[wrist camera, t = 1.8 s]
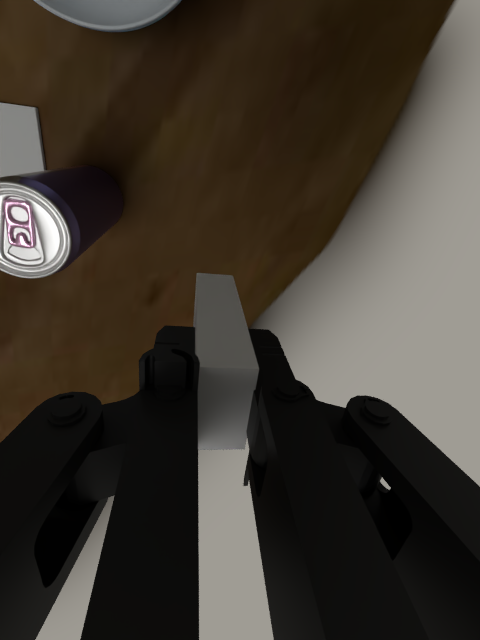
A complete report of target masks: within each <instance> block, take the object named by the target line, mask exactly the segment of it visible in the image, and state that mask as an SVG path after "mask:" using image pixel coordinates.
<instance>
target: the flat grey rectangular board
mask: <svg viewBox="0 0 480 640" xmlns="http://www.w3.org/2000/svg"><path fill="white" fill-rule="evenodd" d="M39 171H46V165H45V158H44V151H43V144H42V136H41V129H40V122H39V115H38V108H34V107H28V106H21V105H14V104H7V103H0V177H5V176H11V175H18V174H25V173H32V172H39Z"/></svg>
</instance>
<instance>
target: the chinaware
mask: <svg viewBox="0 0 480 640" xmlns="http://www.w3.org/2000/svg"><path fill="white" fill-rule="evenodd" d="M34 1H35V2H36V3H38V4H39V5H40V6H42V7H43V8H45V9H46V10H48V11H50V12H51V13H53V14H55V15H57V16H59V17H60V18H62V19H64V20H67V21H69V22H71V23H74V24H76V25H79V26H82V27H85V28H89V29H93V30H98V31H104V32H127V31H133V30H137V29H141V28H144V27H147V26H149V25H151V24H153V23H155V22H157V21H159V20H160V19H162V18H163V17H165V16H166V15H167V14H168V13H170V12H171V11H172V10H173V9H174V8H175V7H176V6H177V5H178V4H179V3H180V2H181V1H182V0H34Z"/></svg>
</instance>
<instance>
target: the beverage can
mask: <svg viewBox="0 0 480 640" xmlns="http://www.w3.org/2000/svg"><path fill="white" fill-rule="evenodd" d="M122 211H123V197H122V194H121V191H120V189H119V187H118V185H117V183H116V182H115V181H114V180H113V178H112V177H111V176H109V175H108V174H107V173H106V172H104V171H103V170H101V169H99V168H96V167H93V166H88V165H80V166H73V167H66V168H59V169H53V170H46V171H39V172H32V173H25V174H18V175H11V176H5V177H0V270H1V271H3V272H5V273H8V274H10V275H13V276H17V277H21V278H42V277H46V276H49V275H51V274H54V273H57V272H60V271H62V270H63V269H65V268H66V267H68V266H69V265H70V264H71V263H72V262H73V261H74V260H76V259H77V258H78V257H79V256H80V255H81V254H82V253H83V252H84V251H86V250H87V249H88V248H89V247H90V246H91V245H92V244H93V243H94V242H95V241H97V240H98V239H99V238H100V237H101V236H102V235H103V234H104V233H105V232H107V231H108V230H109V229H110V228H111V227H112V226H113V225H114V224H115V223H116V222H117V221H118V220H119V218H120V216H121V214H122Z"/></svg>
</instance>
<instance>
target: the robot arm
mask: <svg viewBox="0 0 480 640" xmlns="http://www.w3.org/2000/svg"><path fill="white" fill-rule="evenodd" d="M139 386H140V391H139V392H138V393H136V394H135V395H134V396H131V397H129V398H127V399H125V400H121V401H118V402H113V403H108V404H104V405H101V401H100V400H99V399H98V398H97V397H96V396H94V395H91V394H88V393H86V392H69V393H64V394H59V395H57V396H54V397H52V398H49V399H47V400H46V401H44V402H43V403H42V404H40V405H39V406H37V407H36V408H35V409H34V410H33V411H32V412H31V413H30V414H29V415H28V416H27V417H26V418H25V419H24V420H23V421H22V422H21V423H20V424H19V425H18V426H17V427H16V428H15V429H14V430H13V431H12V432H11V433H10V434H9V435H8V436H7V437H6V438H5V439H4V440H3V441H2V442H1V443H0V640H35V639H36V637H37V635H38V633H39V631H40V629H41V628H42V626H43V624H44V622H45V620H46V618H47V616H48V614H49V612H50V610H51V608H52V606H53V604H54V603H55V601H56V599H57V597H58V595H59V593H60V591H61V589H62V587H63V585H64V583H65V581H66V580H67V578H68V576H69V574H70V572H71V570H72V568H73V566H74V564H75V562H76V560H77V558H78V556H79V554H80V552H81V551H82V549H83V547H84V545H85V543H86V541H87V539H88V537H89V535H90V533H91V531H92V529H93V528H94V525H95V524H96V522H97V520H98V518H99V516H100V514H101V512H102V510H103V508H104V506H105V504H106V502H107V500H108V497H111V496H114V495H115V496H114V501H113V505H112V510H111V513H110V517H109V522H108V526H107V530H106V534H105V539H104V543H103V547H102V551H101V555H100V560H99V564H98V568H97V572H96V577H95V581H94V585H93V589H92V593H91V598H90V602H89V606H88V610H87V615H86V618H85V623H84V627H83V631H82V636H81V639H80V640H199V557H198V556H199V554H198V450H206V449H207V450H217V449H245V444H246V439H247V438H248V444H249V455H248V460H247V465H246V471H245V476H244V486H247V485H248V481H250V488H251V494H252V501H253V507H254V514H255V520H256V527H257V533H258V540H259V546H260V552H261V559H262V565H263V572H264V578H265V585H266V591H267V598H268V605H269V611H270V618H271V624H272V630H273V637H274V640H480V487H479V486H478V485H477V484H476V483H475V482H474V481H473V480H472V479H471V478H470V477H469V476H468V475H467V474H465V473H464V472H463V471H462V470H461V469H460V468H459V467H458V466H457V465H456V464H455V463H454V462H452V461H451V460H450V459H449V458H448V457H447V456H446V455H445V454H444V453H443V452H442V451H441V450H440V449H439V448H437V447H436V446H435V445H434V444H433V443H432V442H431V441H430V440H429V439H428V438H427V437H426V436H425V435H423V434H422V433H421V432H420V431H419V430H418V429H417V428H416V427H415V426H414V425H413V424H411V422H409V421H408V420H407V419H406V418H405V417H404V416H403V415H402V414H401V413H400V412H399V411H398V410H396V409H395V408H394V407H392V406H391V405H390V404H388V403H386V402H384V401H382V400H380V399H378V398H375V397H370V396H356V397H353V398H351V399H350V401H349V402H348V403H347V406H346V408H343V407H339V406H335V405H331V404H327V403H324V402H320V401H318V400H316V399H315V397H314V394H313V393H312V391H311V390H310V389H309V387H308V386H306V385H305V384H303V383H302V382H300V381H298V380H296V379H295V377H294V375H293V372H292V370H291V368H290V366H289V363H288V361H287V358H286V356H284V351H283V349H282V348H281V345H280V342H279V340H278V338H277V337H276V336H275V335H274V334H273V333H271V331H269V330H263V329H262V330H261V329H248V328H247V324H246V321H245V317H244V314H243V310H242V306H241V303H240V299H239V296H238V292H237V289H236V285H235V282H234V278H233V276H230V275H217V274H204V273H197V278H196V294H195V309H194V325H193V327H182V326H164V327H163V328H162V329H161V330H160V331H159V332H158V333H157V336H156V340H155V345H154V349H151V350H149V351H147V352H146V353H144V354H143V355H142V357H141V358H140V360H139ZM382 477H383V479H384V480H385V481H386V482H387V483H388V485H389V486H390V487H391V489H390V490H388V489H386V488H385V487H384V486H383V485H382V484H381V483H380V480H381V478H382Z"/></svg>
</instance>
